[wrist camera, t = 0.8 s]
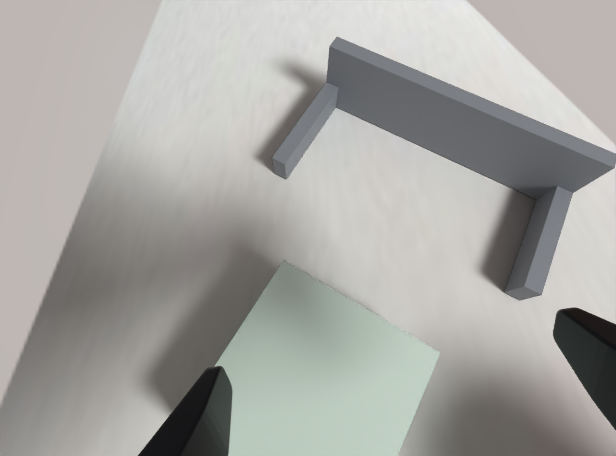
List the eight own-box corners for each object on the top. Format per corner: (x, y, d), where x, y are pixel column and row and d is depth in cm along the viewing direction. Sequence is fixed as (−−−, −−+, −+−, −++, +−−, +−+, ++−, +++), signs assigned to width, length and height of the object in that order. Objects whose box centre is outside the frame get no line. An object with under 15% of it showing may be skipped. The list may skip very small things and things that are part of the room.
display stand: (519, 300, 20) (583, 284, 16) (274, 173, 24) (267, 128, 19) (554, 195, 23) (617, 154, 19) (330, 93, 26) (336, 36, 22)
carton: (331, 537, 16) (341, 590, 13) (189, 430, 18) (159, 450, 14) (413, 353, 20) (440, 352, 16) (286, 276, 21) (283, 259, 17)
